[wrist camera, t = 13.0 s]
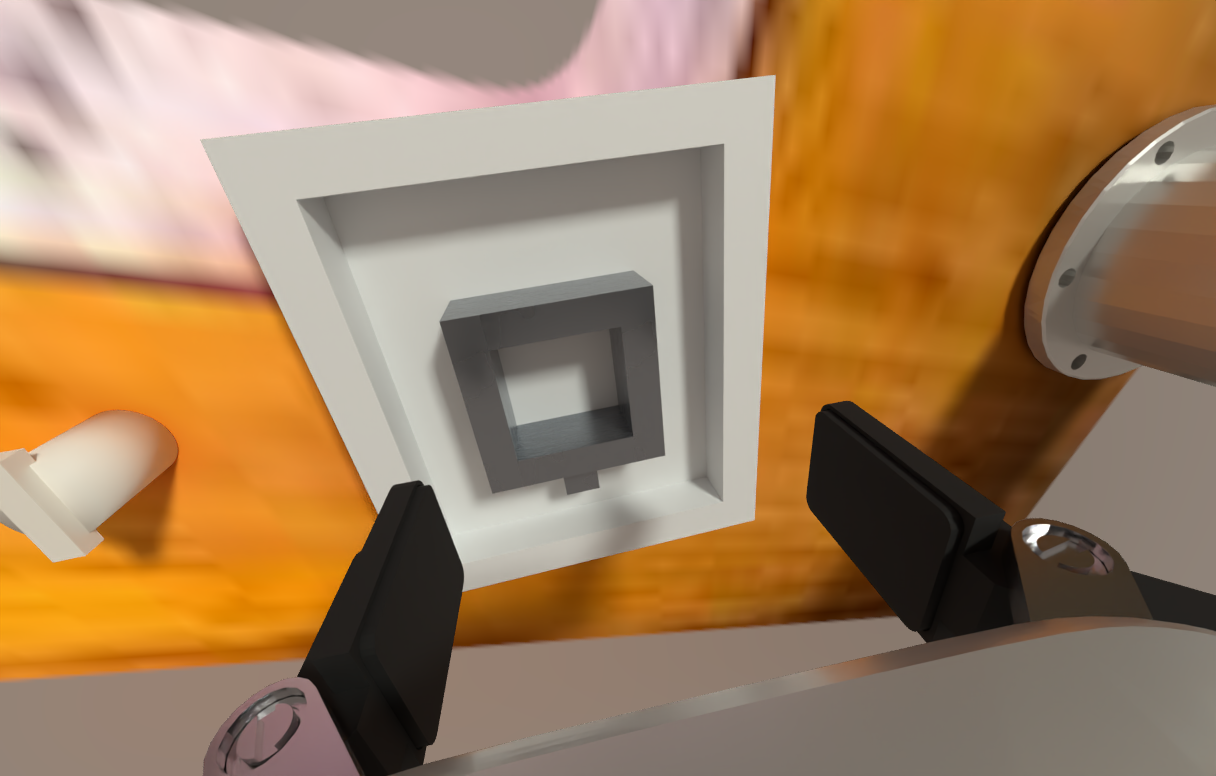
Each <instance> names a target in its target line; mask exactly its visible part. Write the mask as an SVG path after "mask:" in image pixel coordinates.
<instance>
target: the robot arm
mask: <svg viewBox="0 0 1216 776" xmlns="http://www.w3.org/2000/svg"><path fill="white" fill-rule="evenodd" d="M1024 328H1025V333H1026V338H1027V343H1028V346H1029V347H1030V349H1031V351H1032V353H1033V355H1034V357H1035V358H1036V359H1037V360H1038V361H1039V362H1041V363H1042V364H1043V365H1044V366H1045V367H1047V368H1049V369H1052V370H1054V371H1056V372H1059V373H1062V374H1064V375H1067V376H1070V377H1074V378H1078V379H1082V380H1090V379H1103V378H1108V377H1112V376H1116V375H1120V374H1123V373H1125V372H1128V371H1130V370H1133V369H1136V368H1138V367H1141V366H1142V365H1143V366H1147V367H1150V368H1154V369H1157V370H1160V371H1164V372H1167V373H1171V374H1174V375H1177V376H1180V377H1184V378H1187V379H1191V380H1194V381H1197V382H1201V383H1204V384H1208V385H1211V386H1214V387H1216V105H1209V106H1202V107H1195V108H1192V109H1189V110H1187V111H1184V112H1181V113H1179V114H1176V115H1173V116H1171V117H1168V118H1167V119H1165V120H1163V121H1161V122H1160V123H1158V124H1156V125H1155V126H1153V127H1151V128H1149V129H1148V130H1146V131H1144V132H1143V133H1141V134H1140V135H1139V136H1137V137H1136V138H1135V139H1134V140H1132V141H1131V142H1130V143H1128V144H1127V145H1126V146H1125V147H1123V148H1122V149H1121V150H1119V151H1118V152H1117V153H1116V154H1114V155H1113V156H1112V157H1111V158H1110V159H1109V160H1108V161H1107V162H1106V163H1105V164H1104V165H1103V166H1102V167H1101V168H1100V169H1099V170H1098V171H1097V172H1096V173H1095V174H1094V175H1093V176H1092V177H1091V178H1090V179H1089V181H1088V182H1087V183H1086V184H1085V185H1084V187H1083V188H1082V189H1081V190H1080V192H1079V193H1078V194H1077V195H1076V196H1075V198H1074V199H1073V200H1072V201H1071V202H1070V204H1069V205H1068V207H1067V208H1066V210H1065V211H1064V213H1063V214H1062V216H1061V217H1060V219H1059V220H1058V222H1057V223H1056V225H1055V227H1054V228H1053V230H1052V231H1051V233H1050V235H1049V237H1048V239H1047V241H1046V243H1045V245H1044V247H1043V249H1042V251H1041V253H1040V255H1039V257H1038V259H1037V262H1036V265H1035V268H1034V270H1033V273H1032V276H1031V279H1030V281H1029V286H1028V291H1027V295H1026V300H1025V305H1024ZM806 498H807V503H808V506H809V508H810V510H811V511H812V512H813V514H814V515H815V516H816V517H817V518H818V520H819V521H820V522H821V523H822V525H823V526H824V527H825V528H826V529H827V531H828V532H829V533H830V534H831V536H832V537H833V538H834V539H835V540H836V542H837V543H838V544H839V545H840V546H841V548H842V549H843V550H844V551H845V553H846V554H847V555H848V556H849V557H850V559H851V560H852V561H853V562H854V564H855V565H856V566H857V567H858V568H859V570H860V571H861V572H862V573H863V574H864V576H865V577H866V578H867V579H868V581H869V582H870V583H871V584H872V585H873V587H874V588H875V589H876V590H877V592H878V593H879V594H880V595H881V596H882V598H883V599H884V600H885V601H886V602H887V604H888V605H889V606H890V607H891V609H892V610H893V611H894V612H895V613H896V615H897V616H898V617H899V618H900V620H901V621H902V622H903V623H904V624H905V625H906V626H907V627H908V628H909V629H910V630H912V631H915V632H916V631H917V632H918V633H919V634H920V635H921V637H922V638H923V639H924V640H925V641H926V643H925V644H921V645H916V646H912V647H908V648H904V649H899V650H895V651H890V652H886V653H882V654H877V655H873V656H868V657H864V658H860V659H856V660H851V661H847V662H842V663H838V664H834V665H830V666H825V667H821V668H817V669H812V670H808V671H804V672H800V673H795V674H791V675H787V676H782V677H778V678H774V679H770V680H766V681H761V682H757V683H753V684H748V685H744V686H740V687H736V688H731V689H727V690H723V691H719V692H715V693H711V694H706V695H702V696H698V697H693V698H689V699H685V700H681V701H677V702H673V703H668V704H664V705H660V706H656V707H651V708H647V709H643V710H639V711H635V712H631V713H627V714H623V715H618V716H615V717H610V718H606V719H602V720H598V721H594V722H590V723H585V724H581V725H577V726H573V727H569V728H565V729H560V730H556V731H552V732H548V733H544V734H540V735H536V736H532V737H527V738H523V739H519V740H515V741H511V742H508V743H504V744H500V745H496V746H492V747H489V748H485V749H481V750H477V751H474V752H470V753H466V754H462V755H458V756H454V757H451V758H447V759H443V760H439V761H435V762H431V763H428V764H424V765H423V762H424V757H425V751H426V746H428V745H432V744H433V743H434V741H435V739H436V736H437V731H438V725H439V719H440V714H441V708H442V703H443V697H444V692H445V686H446V680H447V674H448V669H449V663H450V658H451V652H452V646H453V641H454V635H455V629H456V624H457V618H458V612H459V607H460V601H461V596H462V590H463V584H464V570H463V566H462V563H461V560H460V558H459V555H458V552H457V550H456V547H455V545H454V542H453V539H452V537H451V534H450V532H449V529H448V527H447V524H446V521H445V519H444V516H443V514H442V511H441V508H440V506H439V503H438V501H437V498H436V495H435V493H434V490H433V488H432V486H431V485H424V484H423V483H422V482H421V481H420V480H417V481H411V482H406V483H401V484H395V485H393V486H392V487H391V489H390V491H389V493H388V495H387V497H386V499H385V501H384V504H383V506H382V508H381V510H380V512H379V514H378V516H377V519H376V521H375V523H374V525H373V527H372V529H371V532H370V534H369V536H368V538H367V540H366V542H365V544H364V547H363V549H362V551H360V552H359V553H358V554H356V556H355V557H354V559H353V561H352V563H351V565H350V567H349V569H348V571H347V573H346V575H345V577H344V579H343V582H342V584H341V586H340V588H339V590H338V592H337V594H336V596H335V598H334V600H333V603H332V605H331V607H330V609H329V611H328V613H327V615H326V617H325V619H324V621H323V624H322V626H321V628H320V630H319V632H318V634H317V636H316V638H315V640H314V642H313V645H312V647H311V649H310V651H309V653H308V655H307V657H306V659H305V661H304V663H303V666H302V668H301V670H300V672H299V674H298V676H297V677H295V678H287V679H283V680H281V681H278V682H276V683H273V684H271V685H268V686H267V687H265V688H264V689H262V690H260V691H259V692H257V693H256V694H254V695H253V696H251V697H250V698H249V699H248V700H247V701H245V702H244V703H243V704H242V705H241V706H239V707H238V708H237V709H236V710H235V711H234V712H233V713H232V714H231V716H230V717H229V718H228V719H227V720H226V721H225V722H224V724H223V725H222V726H221V727H220V729H219V730H218V732H217V734H216V735H215V737H214V738H213V740H212V741H211V743H210V746H209V748H208V751H207V753H206V756H205V758H204V767H203V776H1216V595H1213V594H1209V593H1206V592H1202V591H1198V590H1195V589H1191V588H1188V587H1185V586H1181V585H1178V584H1174V583H1171V582H1167V581H1163V580H1160V579H1157V578H1154V577H1150V576H1147V575H1143V574H1139V573H1136V572H1132V571H1130V569H1129V567H1128V565H1127V563H1126V562H1125V560H1124V559H1123V558H1122V556H1121V555H1120V554H1119V552H1117V551H1116V550H1115V549H1114V548H1113V547H1111V546H1110V545H1109V544H1108V543H1107V542H1105V541H1103V540H1101V539H1100V538H1098V537H1096V536H1095V535H1093V534H1091V533H1089V532H1087V531H1085V530H1082V529H1080V528H1078V527H1075V526H1073V525H1069V524H1066V523H1063V522H1059V521H1055V520H1049V519H1042V518H1030V519H1024V520H1021V521H1018V522H1016V523H1015V524H1014V525H1013V526H1012V527H1011V526H1010V525H1008V524H1007V523H1006V522H1004V521H1003V518H1004V515H1005V513H1006V512H1005V511H1004V510H1002V509H1001V508H1000V507H998V506H997V505H995V504H994V503H993V502H991V501H990V500H988V499H987V498H986V497H984V496H983V495H981V494H980V493H979V492H977V491H976V490H974V489H973V488H972V487H970V486H969V485H967V484H966V483H965V482H963V481H962V480H961V479H959V478H958V477H956V476H955V475H954V474H952V473H951V472H949V471H948V470H947V469H945V468H944V467H942V466H941V465H940V464H938V463H937V462H935V461H934V460H933V459H931V458H930V457H928V456H927V455H926V454H924V453H923V452H921V451H920V450H919V449H917V448H916V447H914V446H913V445H912V444H910V443H909V442H907V441H906V440H905V439H903V438H902V437H900V436H899V435H898V434H896V433H895V432H893V431H892V430H891V429H889V428H888V427H886V426H885V425H884V424H882V423H881V422H879V421H878V420H877V419H875V418H874V417H872V416H871V415H870V414H868V413H867V412H865V411H864V410H863V409H861V408H860V407H858V406H857V405H856V404H854V403H853V402H851V401H843V402H838V403H832V404H827V405H824V406H823V407H822V409H821V412H818V413H817V414H816V418H815V426H814V434H813V443H812V452H811V460H810V469H809V477H808V486H807V495H806Z"/></svg>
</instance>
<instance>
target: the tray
mask: <svg viewBox="0 0 1216 776" xmlns="http://www.w3.org/2000/svg"><path fill="white" fill-rule="evenodd" d="M775 76H776V75H771V76H763V77H754V78H745V79H736V80H727V81H718V82H709V83H700V84H691V85H683V86H674V87H665V88H656V89H647V90H638V91H629V92H620V93H611V94H602V95H594V96H585V97H576V98H567V99H558V100H549V101H540V102H531V103H522V104H514V105H505V106H496V107H487V108H478V109H469V110H460V111H451V112H442V113H433V114H425V115H416V116H407V117H398V118H389V119H380V120H371V121H362V122H353V123H345V124H336V125H327V126H318V127H309V128H300V129H291V130H282V131H273V132H264V133H256V134H247V135H238V136H229V137H220V138H211V139H202V140H200V141H201V143H202V145H203V147H204V149H205V151H206V153H207V155H208V157H209V160H210V162H211V164H212V166H213V168H214V170H215V172H216V174H217V176H218V178H219V181H220V183H221V185H222V187H223V189H224V191H225V193H226V195H227V197H228V199H229V202H230V204H231V206H232V208H233V210H234V212H235V214H236V216H237V218H238V220H239V223H240V225H241V227H242V229H243V231H244V233H245V235H246V237H247V239H248V242H249V244H250V246H251V248H252V250H253V252H254V254H255V256H256V258H257V260H258V263H259V265H260V267H261V269H262V271H263V273H264V275H265V277H266V279H267V281H268V284H269V286H270V288H271V290H272V292H273V294H274V296H275V298H276V300H277V302H278V305H279V307H280V309H281V311H282V313H283V315H284V317H285V319H286V321H287V323H288V326H289V328H290V330H291V332H292V334H293V336H294V338H295V340H296V342H297V344H298V347H299V349H300V351H301V353H302V355H303V357H304V359H305V361H306V363H307V366H308V368H309V370H310V372H311V374H312V376H313V378H314V380H315V382H316V384H317V387H318V389H319V391H320V393H321V395H322V397H323V399H324V401H325V403H326V405H327V408H328V410H329V412H330V414H331V416H332V418H333V420H334V422H335V424H336V426H337V429H338V431H339V433H340V435H341V437H342V439H343V441H344V443H345V445H346V447H347V450H348V452H349V454H350V456H351V458H352V460H353V462H354V464H355V466H356V468H357V471H358V473H359V475H360V477H361V479H362V481H363V483H364V485H365V487H366V489H367V492H368V494H369V496H370V498H371V500H372V502H373V504H374V506H375V508H376V511H377V513H378V514H379V512H380V510H381V508H382V506H383V504H384V501H385V499H386V497H387V495H388V493H389V491H390V489H391V487H392V486H393V485H395V484H401V483H406V482H411V481H417V480H420V481H421V482H422V483H423V484H424V485H431V486H432V488H433V490H434V493H435V495H436V498H437V501H438V503H439V506H440V508H441V511H442V514H443V516H444V519H445V521H446V524H447V527H448V529H449V532H450V534H451V537H452V539H453V542H454V545H455V547H456V550H457V552H458V555H459V558H460V560H461V563H462V566H463V570H464V584H463V590H462V592H464V591H468V590H472V589H476V588H480V587H484V586H488V585H492V584H496V583H500V582H504V581H508V580H512V579H517V578H521V577H525V576H529V575H533V574H537V573H541V572H545V571H549V570H553V569H557V568H561V567H565V566H569V565H573V564H578V563H582V562H586V561H590V560H594V559H598V558H602V557H606V556H610V555H614V554H618V553H622V552H626V551H630V550H634V549H639V548H643V547H647V546H651V545H655V544H659V543H663V542H667V541H671V540H675V539H679V538H683V537H687V536H691V535H695V534H700V533H704V532H708V531H712V530H716V529H720V528H724V527H728V526H732V525H736V524H740V523H744V522H748V521H752V520H755V499H756V478H757V457H758V436H759V414H760V393H761V372H762V351H763V330H764V309H765V288H766V267H767V245H768V224H769V203H770V182H771V161H772V140H773V119H774V97H775ZM633 270H634V271H635V272H636V273H638V274H639V275H640V276H641V277H643V278H644V279H645V280H647V281H648V282H649V283H651V284H652V285H653V291H654V305H655V319H656V333H657V347H658V361H659V375H660V389H661V403H662V417H663V431H664V444H665V456H661V457H656V458H652V459H647V460H643V461H638V462H634V463H629V464H625V465H620V466H616V467H611V468H607V469H602V470H598V471H597V474H598V480H599V486H600V488H597V489H592V490H588V491H583V492H579V493H574V494H570V495H567V492H566V487H565V482H564V478H561V479H557V480H552V481H548V482H543V483H539V484H534V485H530V486H525V487H521V488H516V489H512V490H507V491H503V492H498V493H493V494H492V491H491V487H490V484H489V481H488V478H487V474H486V471H485V468H484V465H483V461H482V458H481V455H480V452H479V449H478V445H477V442H476V439H475V436H474V432H473V429H472V426H471V423H470V419H469V416H468V413H467V410H466V406H465V403H464V400H463V397H462V394H461V390H460V387H459V384H458V381H457V377H456V374H455V371H454V368H453V364H452V361H451V358H450V355H449V351H448V348H447V345H446V342H445V339H444V335H443V332H442V329H441V326H440V322H439V321H440V319H441V317H442V316H443V314H444V312H445V310H446V308H447V306H448V304H449V302H450V301H451V300H457V299H463V298H469V297H475V296H481V295H487V294H493V293H499V292H505V291H511V290H517V289H523V288H530V287H536V286H542V285H548V284H554V283H560V282H566V281H572V280H578V279H584V278H590V277H596V276H602V275H608V274H614V273H620V272H626V271H633ZM498 353H499V357H500V361H501V365H502V369H503V373H504V377H505V381H506V385H507V389H508V393H509V396H510V400H511V404H512V408H513V412H514V416H515V420H516V424H517V426H518V425H522V424H527V423H532V422H537V421H542V420H547V419H552V418H557V417H562V416H567V415H572V414H577V413H581V412H586V411H591V410H596V409H601V408H606V407H611V406H616V405H618V397H617V389H616V381H615V373H614V365H613V357H612V349H611V341H610V333H609V329H606V330H601V331H595V332H590V333H584V334H579V335H573V336H567V337H562V338H556V339H551V340H545V341H540V342H534V343H529V344H523V345H518V346H512V347H507V348H501V349H498Z"/></svg>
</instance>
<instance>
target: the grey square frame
mask: <svg viewBox="0 0 1216 776" xmlns="http://www.w3.org/2000/svg"><path fill="white" fill-rule="evenodd" d="M439 322H440V326H441V329H442V332H443V335H444V339H445V342H446V345H447V348H448V351H449V355H450V358H451V361H452V364H453V368H454V371H455V374H456V377H457V381H458V384H459V387H460V390H461V394H462V397H463V400H464V403H465V406H466V410H467V413H468V416H469V419H470V423H471V426H472V429H473V432H474V436H475V439H476V442H477V445H478V449H479V452H480V455H481V458H482V461H483V465H484V468H485V471H486V474H487V478H488V481H489V484H490V487H491V491H492V494H493V493H498V492H503V491H507V490H512V489H516V488H521V487H525V486H530V485H534V484H539V483H543V482H548V481H552V480H557V479H561V478H564V482H565V487H566V492H567V495H570V494H574V493H579V492H583V491H588V490H592V489H597V488H600V486H599V480H598V474H597V471H598V470H602V469H607V468H611V467H616V466H620V465H625V464H629V463H634V462H638V461H643V460H647V459H652V458H656V457H661V456H665V444H664V431H663V417H662V403H661V389H660V375H659V361H658V347H657V333H656V319H655V305H654V291H653V285H652V284H651V283H649V282H648V281H647V280H645V279H644V278H643V277H641V276H640V275H639V274H638V273H636V272H635V271H634V270H633V271H626V272H620V273H614V274H608V275H602V276H596V277H590V278H584V279H578V280H572V281H566V282H560V283H554V284H548V285H542V286H536V287H530V288H523V289H517V290H511V291H505V292H499V293H493V294H487V295H481V296H475V297H469V298H463V299H457V300H451V301H450V302H449V304H448V306H447V308H446V310H445V312H444V314H443V316H442V317H441V319H440V321H439ZM606 329H609V333H610V341H611V349H612V357H613V365H614V373H615V381H616V389H617V397H618V405H616V406H611V407H606V408H601V409H596V410H591V411H586V412H581V413H577V414H572V415H567V416H562V417H557V418H552V419H547V420H542V421H537V422H532V423H527V424H522V425H518V426H517V424H516V420H515V416H514V412H513V408H512V404H511V400H510V396H509V393H508V389H507V385H506V381H505V377H504V373H503V369H502V365H501V361H500V357H499V353H498V349H501V348H507V347H512V346H518V345H523V344H529V343H534V342H540V341H545V340H551V339H556V338H562V337H567V336H573V335H579V334H584V333H590V332H595V331H601V330H606Z"/></svg>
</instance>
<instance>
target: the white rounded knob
mask: <svg viewBox="0 0 1216 776" xmlns="http://www.w3.org/2000/svg"><path fill="white" fill-rule="evenodd" d="M177 454H178V447H177V443H176V440H175V438H174V437H173V435H172V434H171V433H170V431H169V430H168V429H167V428H166V427H164V426H163V425H162V424H161V423H159V422H158V421H156V420H154V419H152V418H150V417H148V416H146V415H143V414H140V413H136V412H132V411H126V410H110V411H104V412H101V413H98V414H96V415H94V416H92V417H90V418H89V419H87V420H85V421H83V422H82V423H80V424H78V425H76V426H75V427H73V428H71V429H69V430H67V431H66V432H64V433H62V434H60V435H59V436H57V437H55V438H53V439H52V440H50V441H48V442H46V443H44V444H43V445H41V446H39V447H37V448H36V449H34V450H32V451H30V452H29V453H28V452H27V451H26V450H25V449H24V448H23V449H18V450H12V451H7V452H1V453H0V522H1V523H2V524H4V525H5V526H7V527H9V528H11V529H13V530H15V531H18V532H21V533H23V534H25V535H26V536H27V537H28V538H29V539H30V540H31V541H32V542H33V543H34V544H35V545H36V546H37V547H38V548H39V549H40V550H41V551H42V552H43V553H44V554H45V555H46V556H47V557H48V558H49V559H50V560H51V561H52V562H58V561H62V560H67V559H72V558H76V557H81V556H86V555H87V554H88V553H89V552H90V551H91V550H93V549H94V548H95V547H96V546H97V545H98V544H99V543H101V542H102V541H103V540H104V538H103V537H102V536H101V535H100V533H99V532H98V531H97V530H96V528H97V527H98V526H99V525H101V524H102V523H103V522H104V521H105V520H107V519H108V518H109V517H110V516H111V515H113V514H114V513H115V512H116V511H117V510H118V509H120V508H121V507H122V506H123V505H124V504H126V503H127V502H128V501H129V500H130V499H132V498H133V497H134V496H135V495H136V494H138V493H139V492H140V491H141V490H142V489H143V488H145V487H146V486H147V485H148V484H149V483H151V482H152V481H153V480H154V479H155V478H157V477H158V476H159V475H160V474H161V473H163V472H164V471H165V470H166V469H167V468H168V467H170V466H171V465H172V464H173V463H174V461H175V460H176V458H177Z"/></svg>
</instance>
